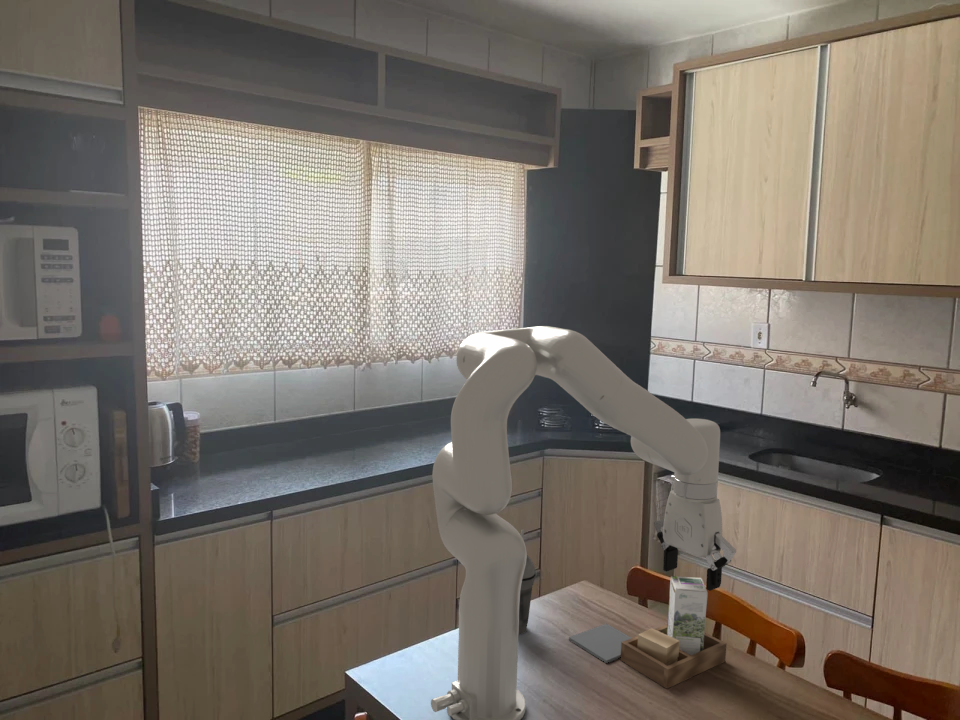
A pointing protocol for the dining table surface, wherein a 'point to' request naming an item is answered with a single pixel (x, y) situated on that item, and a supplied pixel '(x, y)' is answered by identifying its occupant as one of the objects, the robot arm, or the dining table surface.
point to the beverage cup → (526, 593)
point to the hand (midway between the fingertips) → (691, 578)
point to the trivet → (601, 642)
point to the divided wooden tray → (679, 670)
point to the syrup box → (687, 613)
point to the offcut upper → (658, 645)
